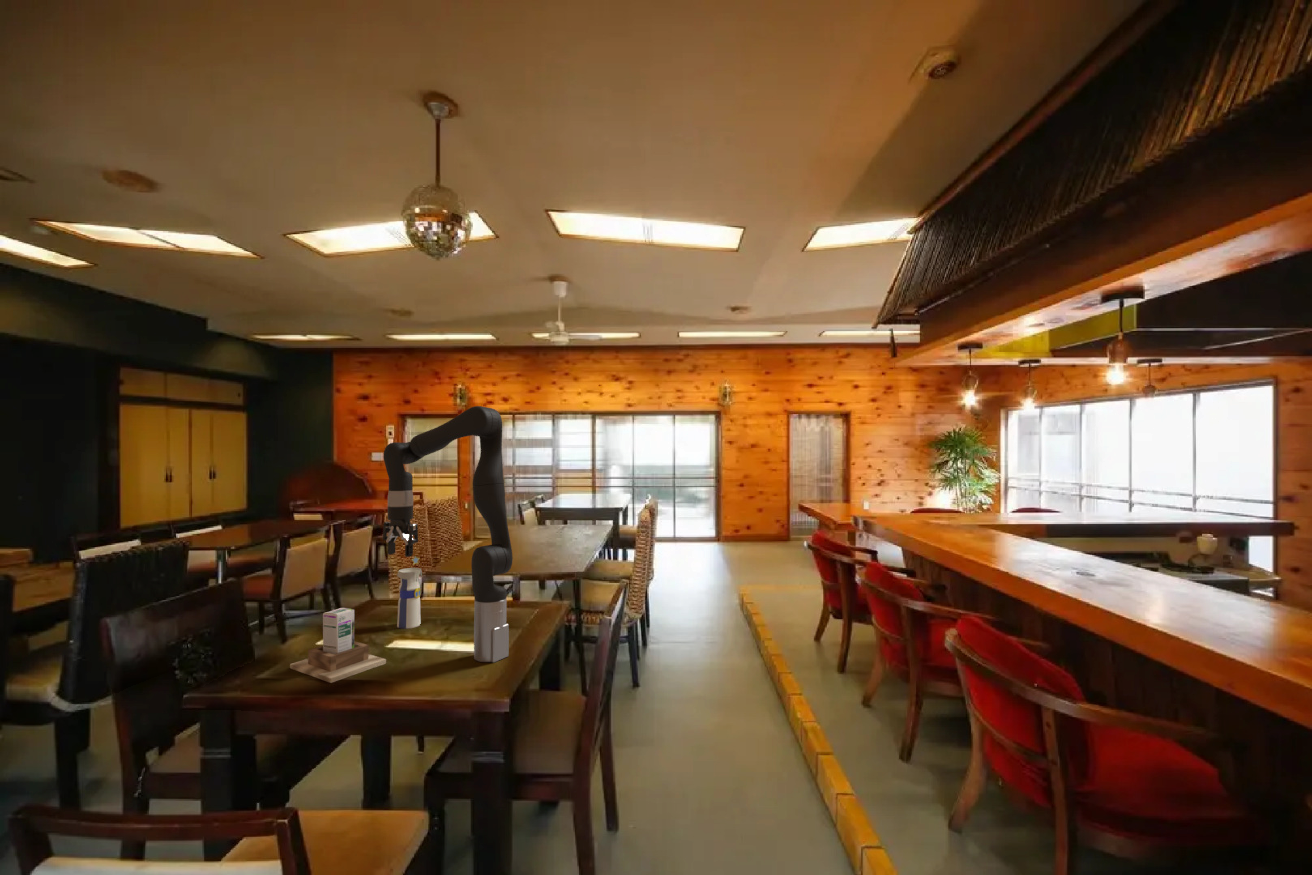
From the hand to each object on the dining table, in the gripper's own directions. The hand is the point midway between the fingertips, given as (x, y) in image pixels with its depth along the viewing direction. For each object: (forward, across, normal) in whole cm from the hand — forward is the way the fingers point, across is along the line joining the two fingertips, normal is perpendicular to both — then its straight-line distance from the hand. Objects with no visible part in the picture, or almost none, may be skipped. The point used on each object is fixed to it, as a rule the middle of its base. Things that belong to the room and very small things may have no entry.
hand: (400, 555), depth 182 cm
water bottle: (+28, +14, -14) cm, 35 cm away
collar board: (+28, -2, +21) cm, 35 cm away
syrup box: (+27, -2, +21) cm, 34 cm away
